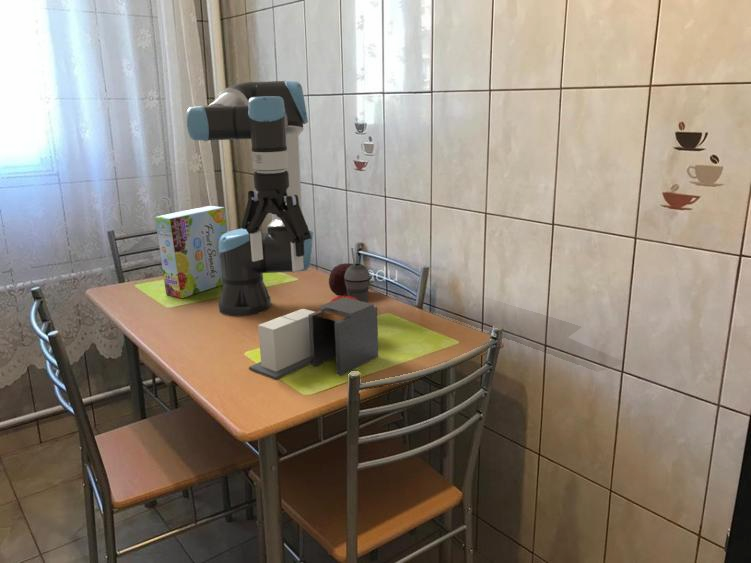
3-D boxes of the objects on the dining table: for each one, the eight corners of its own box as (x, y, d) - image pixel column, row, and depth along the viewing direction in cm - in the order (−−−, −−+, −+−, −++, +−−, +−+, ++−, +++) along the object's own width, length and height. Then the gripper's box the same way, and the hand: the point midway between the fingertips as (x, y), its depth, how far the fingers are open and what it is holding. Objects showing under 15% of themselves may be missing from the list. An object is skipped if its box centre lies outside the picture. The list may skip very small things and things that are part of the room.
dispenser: (311, 365, 144) (308, 310, 140) (349, 347, 154) (347, 295, 150) (340, 375, 138) (338, 318, 134) (378, 356, 148) (377, 303, 144)
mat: (249, 369, 142) (248, 366, 142) (299, 347, 154) (299, 345, 154) (275, 379, 137) (275, 377, 137) (326, 356, 149) (326, 354, 149)
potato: (376, 295, 194) (375, 263, 191) (339, 304, 186) (338, 270, 184) (357, 287, 202) (356, 256, 199) (321, 295, 195) (320, 263, 192)
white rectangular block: (261, 366, 143) (258, 324, 140) (304, 347, 153) (302, 308, 150) (276, 371, 139) (273, 329, 137) (319, 351, 150) (317, 312, 147)
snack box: (216, 278, 216) (209, 204, 209) (233, 282, 211) (227, 206, 204) (163, 294, 199) (153, 215, 192) (180, 299, 194) (171, 217, 187)
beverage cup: (368, 323, 170) (366, 251, 164) (342, 321, 172) (339, 251, 166) (373, 314, 177) (372, 245, 171) (348, 313, 178) (346, 244, 173)
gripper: (221, 168, 140) (229, 259, 147) (298, 177, 125) (303, 278, 131) (247, 164, 146) (254, 253, 152) (324, 172, 130) (328, 270, 137)
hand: (277, 265), depth 142 cm, fingers open, 13 cm apart
